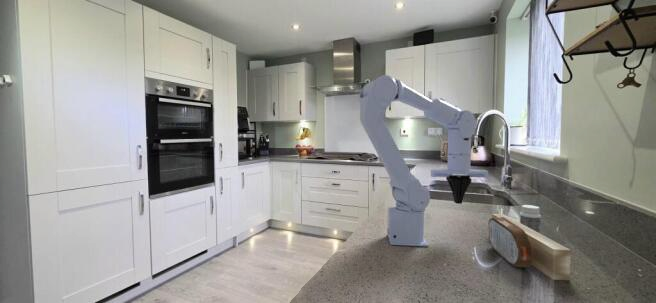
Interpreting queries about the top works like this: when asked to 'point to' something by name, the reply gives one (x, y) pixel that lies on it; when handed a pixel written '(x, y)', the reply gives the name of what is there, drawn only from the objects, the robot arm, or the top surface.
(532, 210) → the pill bottle
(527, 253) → the tin
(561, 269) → the board
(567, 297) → the top surface
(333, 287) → the top surface
